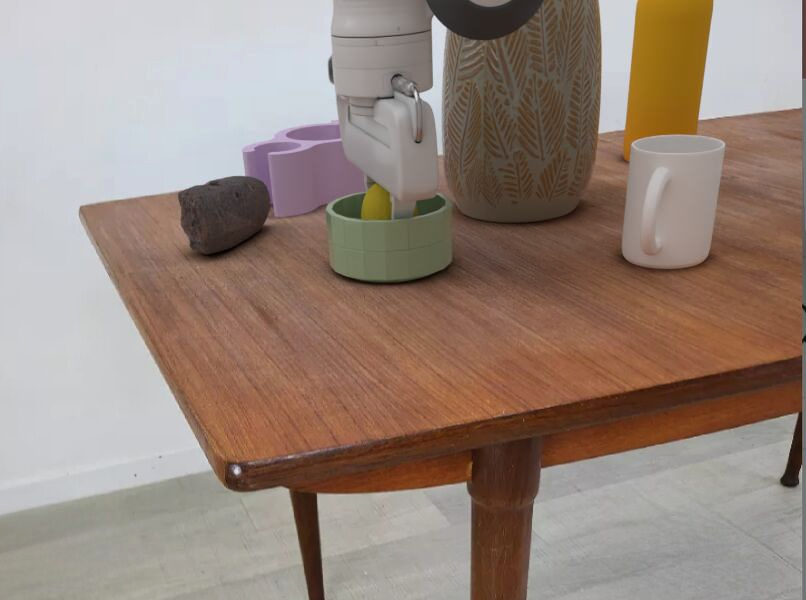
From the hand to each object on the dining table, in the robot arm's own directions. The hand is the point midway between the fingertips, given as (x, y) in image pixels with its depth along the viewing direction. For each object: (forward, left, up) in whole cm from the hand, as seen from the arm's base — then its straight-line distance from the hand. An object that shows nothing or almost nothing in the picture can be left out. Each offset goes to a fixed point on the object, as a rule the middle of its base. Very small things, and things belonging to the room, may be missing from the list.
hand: (390, 228), depth 91 cm
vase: (-19, -15, -4) cm, 25 cm away
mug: (-24, +10, -4) cm, 26 cm away
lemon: (0, 0, -3) cm, 3 cm away
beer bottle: (-45, -29, -4) cm, 54 cm away
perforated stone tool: (+14, -16, -4) cm, 21 cm away
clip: (+1, -32, -4) cm, 32 cm away
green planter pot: (0, 0, -4) cm, 4 cm away
